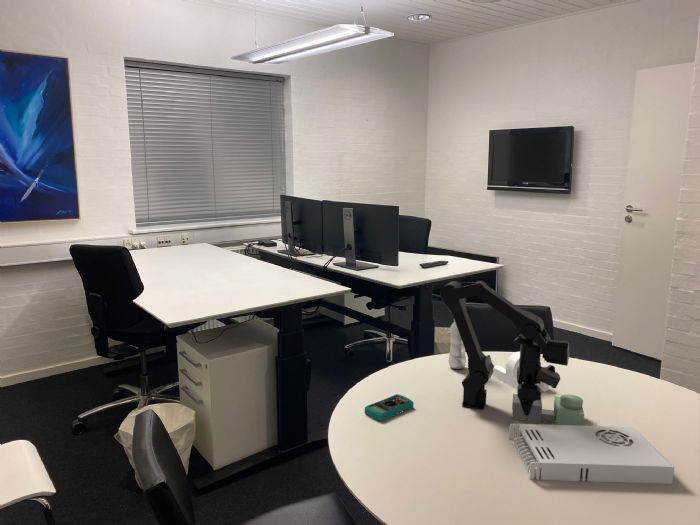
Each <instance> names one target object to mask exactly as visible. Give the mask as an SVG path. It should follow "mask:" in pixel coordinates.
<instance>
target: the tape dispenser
mask: <svg viewBox="0 0 700 525" xmlns="http://www.w3.org/2000/svg"><path fill="white" fill-rule="evenodd" d="M519 358H520V351H515V352H514V353H512V354H511V355H510V356H509V357H508V359H507V361H506V363H505V368H504V367H503V366H500V365H494V368H493V374H492V376H491V377H493V378H495V379H496V378H497V380H499V381H500V382H503V384H507V385H508V386H510V387H511V388H512V389H513V388H514V389H515V390H517V388H518V382H517V368H518V367H519ZM536 385H538V386H539V387H540V389H541V392H542V393H544V392H549V387H550V386H549V385H547V384H545V383H543V382H541V383H540V384H536Z"/></svg>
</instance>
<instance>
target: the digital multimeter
mask: <svg viewBox="0 0 700 525" xmlns="http://www.w3.org/2000/svg"><path fill="white" fill-rule="evenodd" d="M414 403H415V402H414V401H413V400H412V399H410V398H408V397H406V396H404V395H401V394H398V393H397V394H394V395H392V396H389V397H387V398H384V399H382V400H379V401H377V402H373V403H372V404H369V405H366V406H365V407H364V414H365V413H366V414H365V415H367V414H368V415H370V416H371V417H370V416H369V417H370V418H372V417H373V418H372V419H374V418H375V419H374V420H376V419H377V420H376V421H378V420H379V422H384V421H386V420H388V419H390V418H392V417H394V416H393V415H395V416H397V415H398V414H397V413H399V414H401V413H400V412H402V411H404V412H406V411H405V410H407V411H409V410H411V409H410V408H412V409H414ZM408 409H409V410H408ZM402 413H403V412H402ZM396 414H397V415H396ZM368 415H367V416H368ZM391 416H392V417H391ZM389 417H390V418H389ZM387 418H388V419H387ZM385 419H386V420H385ZM383 420H384V421H383Z"/></svg>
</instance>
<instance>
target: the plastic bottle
mask: <svg viewBox="0 0 700 525" xmlns="http://www.w3.org/2000/svg"><path fill="white" fill-rule="evenodd" d="M449 336H450V337H449V338H450V348H449V349H450V350H449V356H448V360H447V361H448V365H449V367H450V368H451V369H455V370H462V369H464V368H465V367H466V364H467V358H466V356H467V355H466V351H465V348H464V345H463V342H462V339H461V337H460V334H459V331H458V328H457V326H456V323H455V320H454V319H453V323H452V324H451V325H450V327H449Z"/></svg>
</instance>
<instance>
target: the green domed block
mask: <svg viewBox="0 0 700 525" xmlns="http://www.w3.org/2000/svg"><path fill="white" fill-rule="evenodd" d="M583 404H584V400H583V399H582V397H581V396H577V395H574V394H569V393H568V394H566V393H565V394H562V395H560V396H554V403H553V409H546V408H542V416H541V421H546V422H554V424H555V425H577V426H585V425H584V424H585V411H584V409H583Z"/></svg>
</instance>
